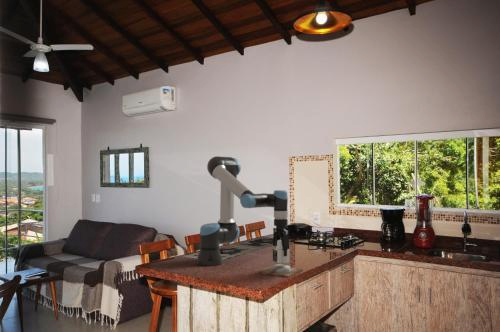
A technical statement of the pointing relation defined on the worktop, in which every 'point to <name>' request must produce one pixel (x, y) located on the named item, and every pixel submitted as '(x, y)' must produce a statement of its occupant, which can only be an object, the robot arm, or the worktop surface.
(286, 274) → the stand
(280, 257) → the medicine bottle
